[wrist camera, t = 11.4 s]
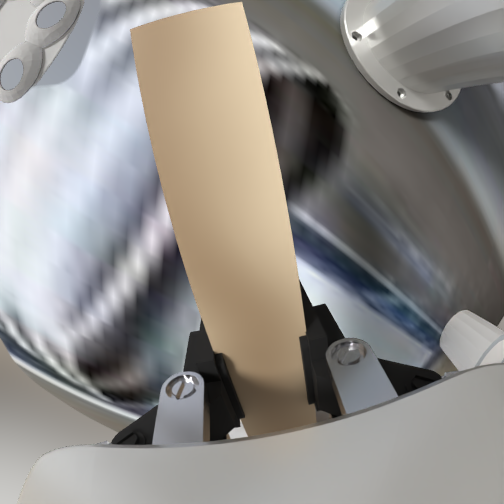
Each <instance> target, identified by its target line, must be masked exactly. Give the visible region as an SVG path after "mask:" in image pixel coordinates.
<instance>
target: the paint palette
mask: <svg viewBox="0 0 504 504" xmlns="http://www.w3.org/2000/svg"><path fill="white" fill-rule="evenodd" d="M53 2H63V3H65V5H66V12H65V14H64V16H63V18H62V19H61V20H60V21H59V22H58V23H56V24H55V25H53V26H51V27H49V28H39V27H38V25H37V22H36V21H37V17H38V15H39V13H40V11H41V10H42V9H43V8H44V7H46V6H47V5H49V4H51V3H53ZM22 4H23V5H22ZM83 6H84V0H0V77H1V73H2V70H3V68H4V67H5V65H6V64H7V63H8V62H9V61H10V60H13V59H20V60H21V61H22V64H23V76H22V78H21V80H20V82H19V84H18V85H17V86H16V87H15V88H14V89H11V90H5V89H3V87H2V85H1V82H0V101H2V102H4V103H11V102H14V101H16V100H18V99H19V98H21V97H22V96H23V95H24V94H25V93H26V92H27V91H28V90H29V88H30V87H35V86H36V84H37V83H38V82H39V81H40V80H41V78H42V76H43V75H44V74H45V72H46V71H47V69H48V68H49V67H50V65H51V64H52V62H53V61H54V60H55V58H56V57H57V56H58V54H59V52H60V51H61V49H62V48H63V46H64V44H65V43H66V41H67V39H68V37H69V36H70V34H71V33H72V31H73V29H74V27H75V25H76V23H77V21H78V18H79V16H80V14H81V11H82V8H83Z"/></svg>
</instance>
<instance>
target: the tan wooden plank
mask: <svg viewBox="0 0 504 504" xmlns="http://www.w3.org/2000/svg"><path fill="white" fill-rule="evenodd" d="M130 32H131V39H132V45H133V52H134V58H135V64H136V70H137V76H138V81H139V87H140V92H141V97H142V102H143V107H144V112H145V117H146V122H147V126H148V131H149V135H150V140H151V144H152V148H153V153H154V157H155V161H156V165H157V169H158V173H159V177H160V181H161V185H162V189H163V193H164V197H165V200H166V204H167V208H168V211H169V215H170V219H171V222H172V226H173V229H174V233H175V236H176V240H177V243H178V246H179V250H180V253H181V256H182V260H183V263H184V266H185V269H186V272H187V276H188V279H189V282H190V285H191V288H192V291H193V294H194V297H195V300H196V303H197V306H198V309H199V312H200V315H201V318H202V321H203V324H204V326H205V329H206V332H207V335H208V338H209V340H210V343H211V346H212V349H213V351H214V353H215V354H218V353H222V354H223V357H224V360H225V363H226V366H227V368H228V371H229V374H230V377H231V379H232V382H233V385H234V387H235V390H236V393H237V395H238V398H239V401H240V403H241V406H242V408H243V411H244V414H245V418H242V419H240V420H241V422H240V426H241V427H238V428H234V429H232V430H231V431H230V432H229V435H230V439H235V438H242V437H249V436H255V435H261V434H267V433H272V432H277V431H282V430H287V429H292V428H296V427H301V426H305V425H309V424H313V423H317V422H321V421H325V420H328V419H330V417H329V413H326V412H324V411H316V408H315V405H314V404H311V405H309V404H308V400H307V392H306V384H305V377H304V370H303V362H302V355H301V349H300V342H299V337H300V336H304V335H306V333H305V332H306V325H305V318H304V311H303V304H302V297H301V290H300V283H299V276H298V270H297V263H296V257H295V251H294V245H293V239H292V233H291V227H290V221H289V215H288V209H287V204H286V198H285V193H284V187H283V182H282V177H281V171H280V166H279V161H278V156H277V151H276V146H275V141H274V136H273V131H272V126H271V122H270V117H269V112H268V108H267V103H266V99H265V94H264V90H263V85H262V81H261V77H260V72H259V68H258V64H257V60H256V55H255V51H254V47H253V43H252V39H251V35H250V31H249V27H248V24H247V20H246V16H245V12H244V8H243V5H242V2H237V3H231V4H224V5H219V6H213V7H208V8H203V9H199V10H194V11H190V12H186V13H182V14H178V15H174V16H171V17H167V18H164V19H160V20H157V21H154V22H150V23H147V24H144V25H141V26H138V27H136V28H133V29H130Z"/></svg>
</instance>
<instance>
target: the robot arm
mask: <svg viewBox="0 0 504 504" xmlns="http://www.w3.org/2000/svg"><path fill="white" fill-rule="evenodd" d="M340 24H341V33H342V37H343V40H344V44H345V46H346V48H347V51H348V53H349V55H350V57H351V59H352V60H353V62H354V64H355V65H356V67H357V69H358V70H359V71H360V72H361V74H362V75H363V76H364V77H365V79H366V80H367V81H368V82H369V83H370V84H371V85H372V86H373V87H374V88H375V89H376V90H377V91H378V92H379V93H380V94H382V95H383V96H384V97H386V98H387V99H388V100H390V101H391V102H393V103H395V104H397V105H399V106H400V107H402V108H405V109H408V110H411V111H414V112H422V113H426V112H436V111H440V110H443V109H445V108H447V107H448V106H450V105H451V104H452V103H453V102H454V101H455V100H456V99H457V97H458V95H459V93H460V91H461V88H466V87H472V86H479V85H486V84H494V83H502V82H504V0H346V1H345V3H344V5H343V7H342V11H341V16H340ZM299 283H300V290H301V297H302V304H303V311H304V318H305V325H306V332H305V333H306V335H304V336H300V337H299V342H300V349H301V355H302V362H303V370H304V377H305V384H306V392H307V400H308V404H309V405H311V404H314V405H315V408H316V411H324V412H326V413H329V417H330V419H328V420H325V421H321V422H317V423H313V424H309V425H305V426H301V427H296V428H292V429H287V430H282V431H277V432H272V433H267V434H261V435H255V436H249V437H242V438H235V439H230V435H229V432H230V431H231V430H232V429H234V428H238V427H241V426H240V419H242V418H245V414H244V411H243V408H242V406H241V403H240V401H239V398H238V395H237V393H236V390H235V387H234V385H233V382H232V379H231V377H230V374H229V371H228V368H227V366H226V363H225V360H224V357H223V354H222V353H218V354H215V353H214V351H213V349H212V346H211V343H210V340H209V338H208V335H207V332H206V329H205V326H204V324H203V321H202V318H201V324H200V331H194V332H191V333H190V336H189V342H188V347H187V353H186V359H185V365H184V371H183V372H181V373H177V374H175V375H173V376H171V377H170V378H169V379H167V380H166V381H165V383H164V384H163V386H162V388H161V393H160V398H159V404H158V405H157V406H155V407H154V408H153V409H151V410H150V411H148V412H147V413H146V414H144V415H143V416H142V417H140V418H139V419H137V420H136V421H135V422H133V423H132V424H130V425H129V426H127V427H126V428H125V429H123V430H122V431H120V432H119V433H118V434H117V435H116V436H115V437H114V439H113V440H112V442H111V443H109V442H107V441H104V442H101V443H98V444H89V445H75V446H66V447H62V448H58V449H55V450H52V451H49V452H47V453H45V454H43V455H42V456H41V457H40V458H39V459H38V460H37V461H36V462H35V464H34V465H33V467H32V469H31V470H30V472H29V474H28V477H27V478H26V481H25V483H24V485H23V488H22V490H21V493H20V496H19V498H18V501H17V504H504V363H493V364H487V365H481V366H477V367H473V368H470V369H466V370H462V371H454V372H445V375H444V376H440V375H439V374H437V373H436V372H434V371H431V370H428V369H423V368H418V367H414V366H409V365H404V364H400V363H396V362H391V361H387V360H383V359H378V358H377V357H376V356H375V354H374V352H373V350H372V349H371V347H370V346H369V345H368V343H367V342H365V341H363V340H360V339H357V338H346V339H345V337H344V336H343V334H342V332H341V330H340V329H339V327H338V325H337V323H336V321H335V320H334V318H333V316H332V314H331V313H330V311H329V309H328V307H327V306H326V304H321V305H317V306H312V304H311V302H310V300H309V298H308V296H307V294H306V292H305V290H304V288H303V286H302V284H301V282H300V280H299Z"/></svg>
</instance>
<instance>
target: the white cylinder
mask: <svg viewBox="0 0 504 504" xmlns="http://www.w3.org/2000/svg"><path fill="white" fill-rule="evenodd" d="M440 347H441V348H442V350H443V351H444V353H445V354H446V355H447V356H448V358H449V359H450V360H451V362H452V363H453V364H454V365H455V367H456V368H457V369H458V371H462V370H466V369H470V368H473V367H477V366H481V365H487V364H493V363H503V362H504V331H503V330H501V329H500V328H498V327H496V326H495V325H493V324H491V323H490V322H488V321H486V320H484V319H483V318H481V317H479V316H478V315H476V314H474V313H472V312H471V311H468V310H462V311H460V312H458V313H457V314H455V315H454V316H453V317H452V318H451V319H450V321H449V322H448V323H447V324H446V326H445V328H444V330H443V331H442V334H441V337H440Z"/></svg>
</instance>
